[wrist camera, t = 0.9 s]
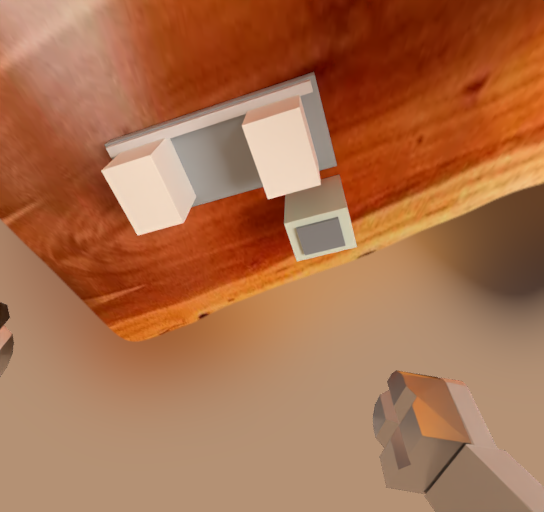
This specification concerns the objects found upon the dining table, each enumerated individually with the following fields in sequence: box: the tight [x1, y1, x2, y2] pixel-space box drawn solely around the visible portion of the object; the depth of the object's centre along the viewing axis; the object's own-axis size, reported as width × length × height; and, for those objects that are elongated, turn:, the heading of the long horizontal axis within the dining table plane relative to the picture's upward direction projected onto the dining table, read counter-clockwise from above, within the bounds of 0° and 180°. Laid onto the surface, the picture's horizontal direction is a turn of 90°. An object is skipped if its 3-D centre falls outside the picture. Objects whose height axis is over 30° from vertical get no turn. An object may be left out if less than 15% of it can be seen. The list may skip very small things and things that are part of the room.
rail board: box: [101, 72, 337, 235], centre depth 40 cm, size 22×9×8 cm, turn 108°
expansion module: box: [284, 174, 357, 261], centre depth 42 cm, size 6×4×8 cm
